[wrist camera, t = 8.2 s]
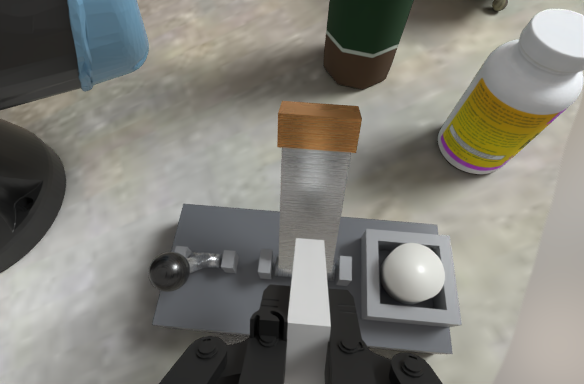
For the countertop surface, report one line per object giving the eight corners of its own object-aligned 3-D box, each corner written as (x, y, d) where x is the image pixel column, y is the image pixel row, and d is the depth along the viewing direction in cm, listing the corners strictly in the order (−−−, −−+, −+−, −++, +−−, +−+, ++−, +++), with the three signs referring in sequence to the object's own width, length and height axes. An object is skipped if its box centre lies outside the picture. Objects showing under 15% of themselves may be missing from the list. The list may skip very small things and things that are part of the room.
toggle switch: (220, 274, 23) (179, 297, 16) (193, 271, 24) (138, 293, 16) (223, 246, 24) (184, 254, 16) (196, 244, 24) (143, 251, 16)
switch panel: (434, 353, 24) (467, 353, 19) (167, 327, 25) (139, 321, 20) (423, 237, 28) (448, 214, 23) (193, 217, 29) (175, 192, 24)
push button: (435, 306, 22) (448, 302, 20) (380, 301, 22) (388, 296, 20) (429, 253, 23) (441, 245, 21) (378, 249, 23) (386, 240, 21)
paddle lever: (332, 287, 22) (361, 119, 15) (274, 282, 22) (278, 113, 16) (331, 267, 24) (358, 106, 17) (277, 263, 24) (282, 100, 17)
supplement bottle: (498, 187, 30) (626, 84, 19) (428, 161, 31) (507, 49, 20) (509, 134, 33) (627, 15, 21) (444, 112, 34) (522, -12, 23)
